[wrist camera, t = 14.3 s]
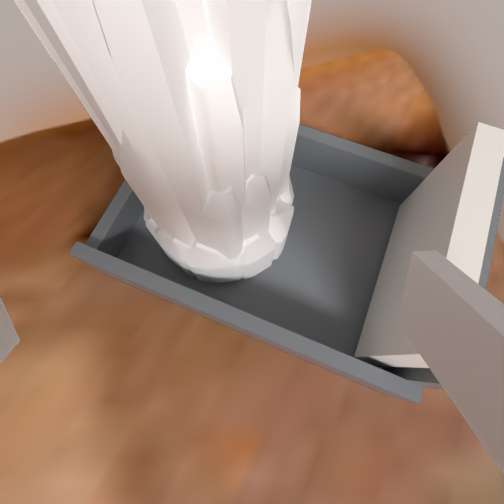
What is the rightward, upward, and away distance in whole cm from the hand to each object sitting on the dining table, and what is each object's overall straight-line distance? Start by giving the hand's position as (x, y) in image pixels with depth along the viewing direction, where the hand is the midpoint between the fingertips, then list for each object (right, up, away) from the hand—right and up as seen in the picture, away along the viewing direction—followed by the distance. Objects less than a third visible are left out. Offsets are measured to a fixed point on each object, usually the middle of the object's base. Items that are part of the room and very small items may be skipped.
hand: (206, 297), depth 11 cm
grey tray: (+3, +2, +17) cm, 17 cm away
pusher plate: (+12, -1, +14) cm, 19 cm away
